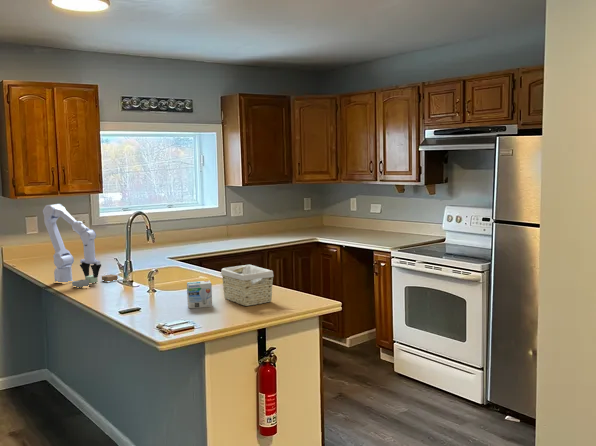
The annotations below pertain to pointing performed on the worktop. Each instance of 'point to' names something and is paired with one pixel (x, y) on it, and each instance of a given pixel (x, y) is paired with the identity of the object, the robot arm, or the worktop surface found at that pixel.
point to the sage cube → (91, 279)
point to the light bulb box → (199, 294)
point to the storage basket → (247, 284)
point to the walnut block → (109, 277)
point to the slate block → (80, 283)
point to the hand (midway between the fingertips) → (91, 276)
